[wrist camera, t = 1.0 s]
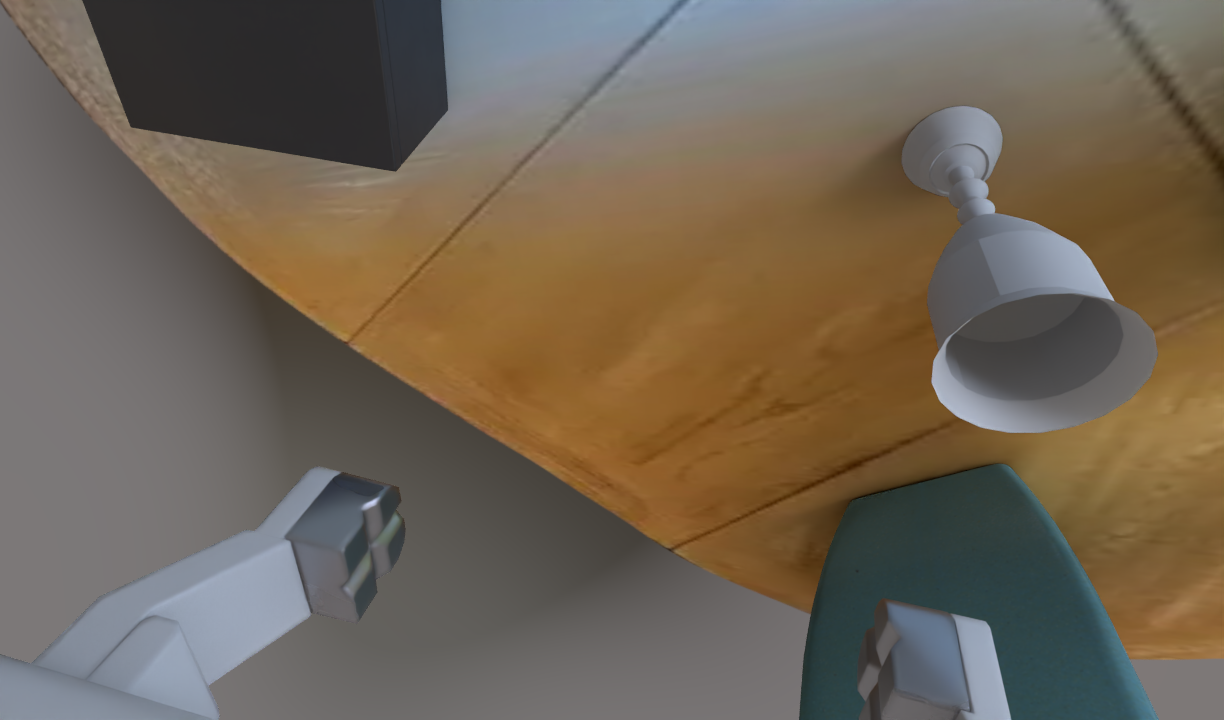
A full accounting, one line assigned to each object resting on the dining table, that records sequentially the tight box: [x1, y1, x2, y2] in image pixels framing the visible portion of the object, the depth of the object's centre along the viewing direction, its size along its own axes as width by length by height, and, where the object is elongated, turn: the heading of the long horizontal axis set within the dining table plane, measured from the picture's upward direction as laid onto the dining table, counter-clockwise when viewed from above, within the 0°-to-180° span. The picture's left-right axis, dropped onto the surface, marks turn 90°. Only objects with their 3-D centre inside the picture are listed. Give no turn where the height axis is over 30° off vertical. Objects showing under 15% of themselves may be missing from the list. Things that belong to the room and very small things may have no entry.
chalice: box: [902, 106, 1158, 433], centre depth 33 cm, size 7×7×18 cm
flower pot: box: [799, 464, 1159, 720], centre depth 49 cm, size 20×20×28 cm
